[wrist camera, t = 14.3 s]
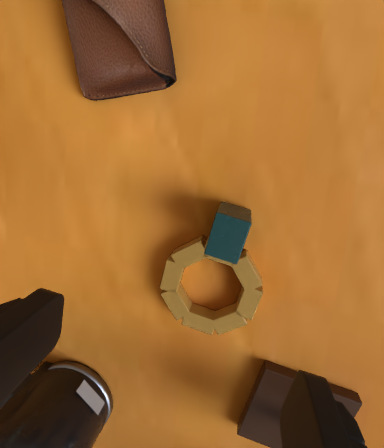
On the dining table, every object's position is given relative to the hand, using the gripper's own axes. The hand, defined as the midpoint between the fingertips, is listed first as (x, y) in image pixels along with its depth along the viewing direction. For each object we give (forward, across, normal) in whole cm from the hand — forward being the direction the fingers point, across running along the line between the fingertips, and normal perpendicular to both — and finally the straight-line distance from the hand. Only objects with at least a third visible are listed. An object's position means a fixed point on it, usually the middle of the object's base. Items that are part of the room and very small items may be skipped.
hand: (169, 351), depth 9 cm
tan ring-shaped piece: (+16, -1, +4) cm, 17 cm away
